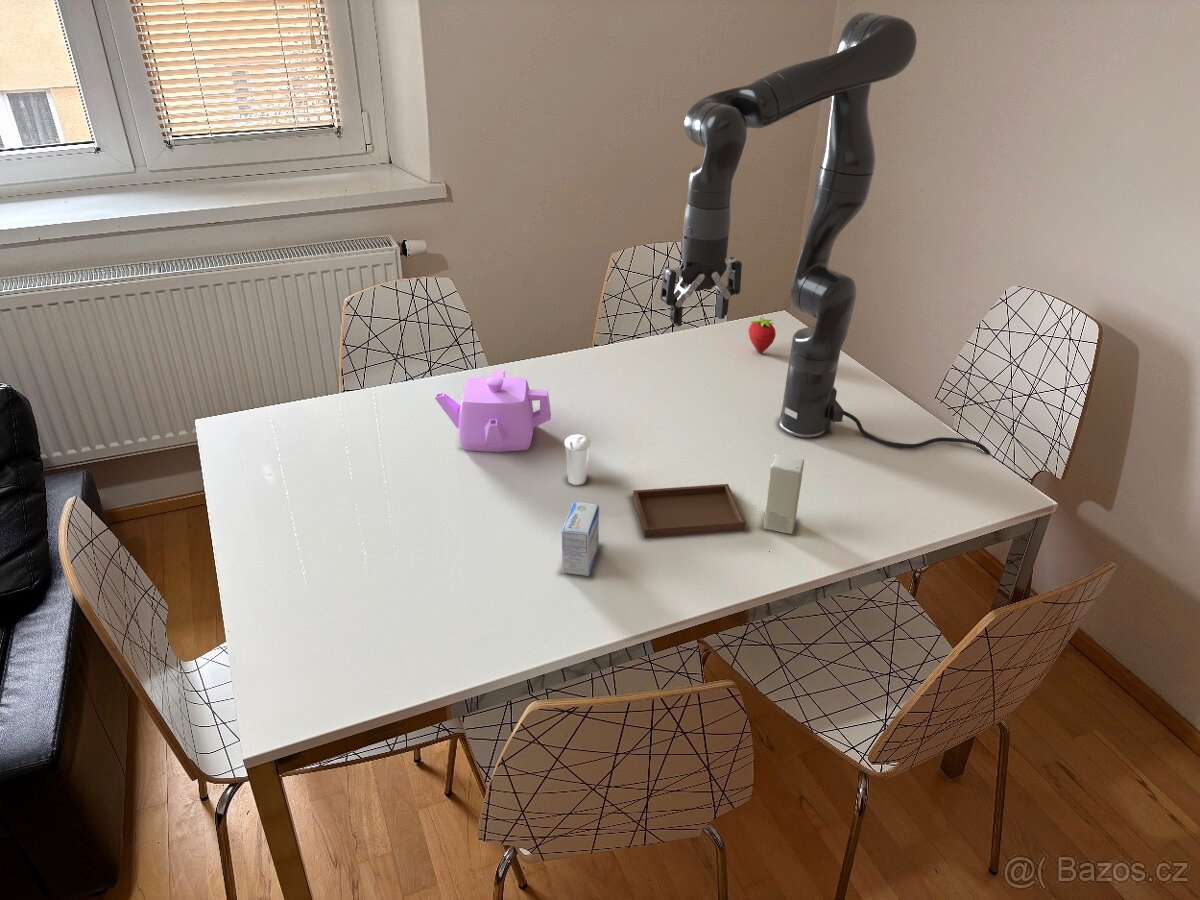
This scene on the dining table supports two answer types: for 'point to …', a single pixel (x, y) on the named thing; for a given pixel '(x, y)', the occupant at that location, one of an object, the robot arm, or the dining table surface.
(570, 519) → the medicine box
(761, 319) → the strawberry
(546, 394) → the teakettle
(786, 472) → the box
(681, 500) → the tray
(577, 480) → the milkshake
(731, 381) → the dining table surface
